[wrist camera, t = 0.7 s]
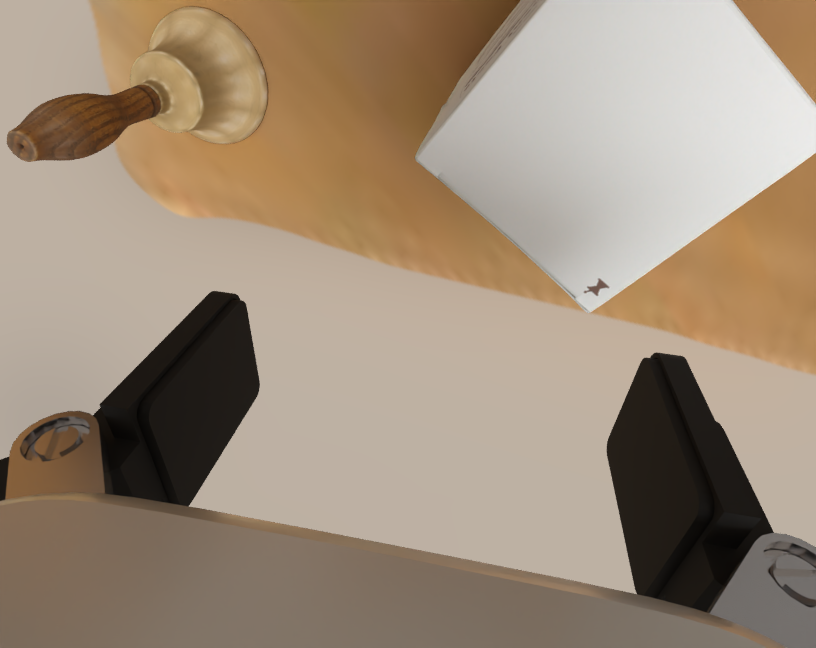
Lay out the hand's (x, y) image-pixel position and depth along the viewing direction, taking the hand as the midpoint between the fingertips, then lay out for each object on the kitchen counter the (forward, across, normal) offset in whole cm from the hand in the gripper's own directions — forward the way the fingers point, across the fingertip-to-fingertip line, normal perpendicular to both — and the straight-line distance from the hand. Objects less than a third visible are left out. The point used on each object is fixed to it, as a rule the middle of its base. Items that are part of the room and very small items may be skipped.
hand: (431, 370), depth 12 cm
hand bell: (+25, +18, -2) cm, 31 cm away
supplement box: (+25, -5, -4) cm, 25 cm away
